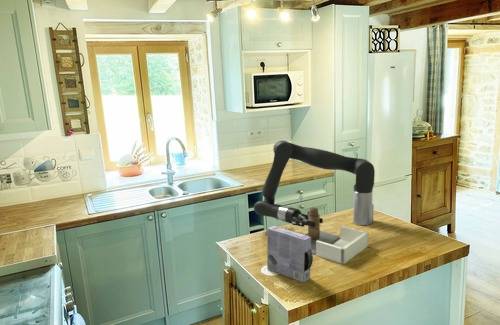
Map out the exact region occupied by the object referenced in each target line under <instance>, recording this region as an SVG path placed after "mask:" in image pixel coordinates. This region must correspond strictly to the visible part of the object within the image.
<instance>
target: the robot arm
mask: <svg viewBox="0 0 500 325" xmlns="http://www.w3.org/2000/svg"><path fill="white" fill-rule="evenodd" d="M272 150H273V153H274V156H273V161H272V165H271V167H270V170H269V173H268V175H267V176H266V179H265V182H264V183H263V187H262V189H261V195H262V196H263V197H264V199H263V200H258V201H257V202H255V203H254V205H253V211H254V213H255V214H256V215H259V216H263V217H268V218H269V217H270V218H274V219H276V220H280V221H282V222H284V223H288V224H291V225H292V226H295V227H296V226H297V227H302V228H303V227H305V226H306V227H308V226H312V227H315V226H316V223H315V222H313V221H308V214H309V212H310V211H307V213H305V212H302V211H301V210H300V209H298V208H295V207H291V206H287V205H283V204H282V205H281V204H276V203H275V200H276V194H277V191H278V187H279V185H280V182H281V179H282V176H283V173H284V171H285V168H286V167H287V164H288V162H289V161H290V159H292V160H296V161H300V162H302V163H304V164H307V165H309V166H313V167H315V168H319V169H323V170H327V171H329V170H330V171H332V170H333V171H335V170H336V171H337V170H338V171H345V172H348V173H351V174H354V175H355V183H354V186H353V212H352V213H353V219H352V220H353V223H354V224H355V225H359V226H370V225H371V224H372V223H374V212H375V211H374V207H375V206H374V204H373V190H374V189H373V188H374V186H375V174H376V173H375V171H376V170H375V167H374V164H372V163H371V162H370V161H369V160H368V159H364V158H358V157H357V158H356V157H349V156H346V155H342V154H340V153H336V152H332V151H328V150H324V149H320V148H316V147H307V146H303V145H298V144H295V143H292V142H289V141H286V140H278V141H276V142H275V144H273V149H272ZM323 221H324V219H323V217H320V224H323V223H324V222H323Z"/></svg>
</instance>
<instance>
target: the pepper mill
mask: <svg viewBox="0 0 500 325" xmlns="http://www.w3.org/2000/svg"><path fill="white" fill-rule="evenodd" d="M308 212H309V214H308V221H313V222H315V223H316V226H315V227H312V226H307V229H308V230H307V232H308V233H307V234H308V236H309V237H311V240H318V239H319V238H320V231H321V230H320V229H321V228H320V227H321V226H320V225H321V223H320V218H321V217H320V216H321V215H320V214H319V208H318V207H310V208H309V211H308Z"/></svg>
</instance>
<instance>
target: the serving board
mask: <svg viewBox="0 0 500 325" xmlns="http://www.w3.org/2000/svg"><path fill="white" fill-rule="evenodd" d="M305 235H306V236H308V233H306V234H305ZM338 240H340V235H336V234H332V233H328V232H325V231H322V230H320V238H319V239H318V241H321V242H325V243H328V244H331V245H332V244H334V243H335V242H337V241H338ZM316 241H317V240H311V251H312V255H313V256H314V255H316Z"/></svg>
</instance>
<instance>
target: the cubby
mask: <svg viewBox="0 0 500 325" xmlns="http://www.w3.org/2000/svg"><path fill="white" fill-rule="evenodd" d="M339 228H340V229H339V230H340V231H339V233H340V234H339V236H340V238H339V239H337V240H336V241H334V242H333V243H331V244H328V243H325V242H321V241H318V240H317V241H316V254H315V256H316V257H317V256H318V257H320V258H323V259H327V260H329V261H332V262H334V263H335V262H336V263H338V264H342V265H345V264H346V263H348V262H349V261H350V260H351V259H353V258H354V257H355V256H357V255H358V254H360V253H361V252H362V251H363V250H364V249H366V248H368V247H369V232H367V231H365V230H364V231H363V230H359V229H356V228H352V227H347V226H344V225H341V226H339Z"/></svg>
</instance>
